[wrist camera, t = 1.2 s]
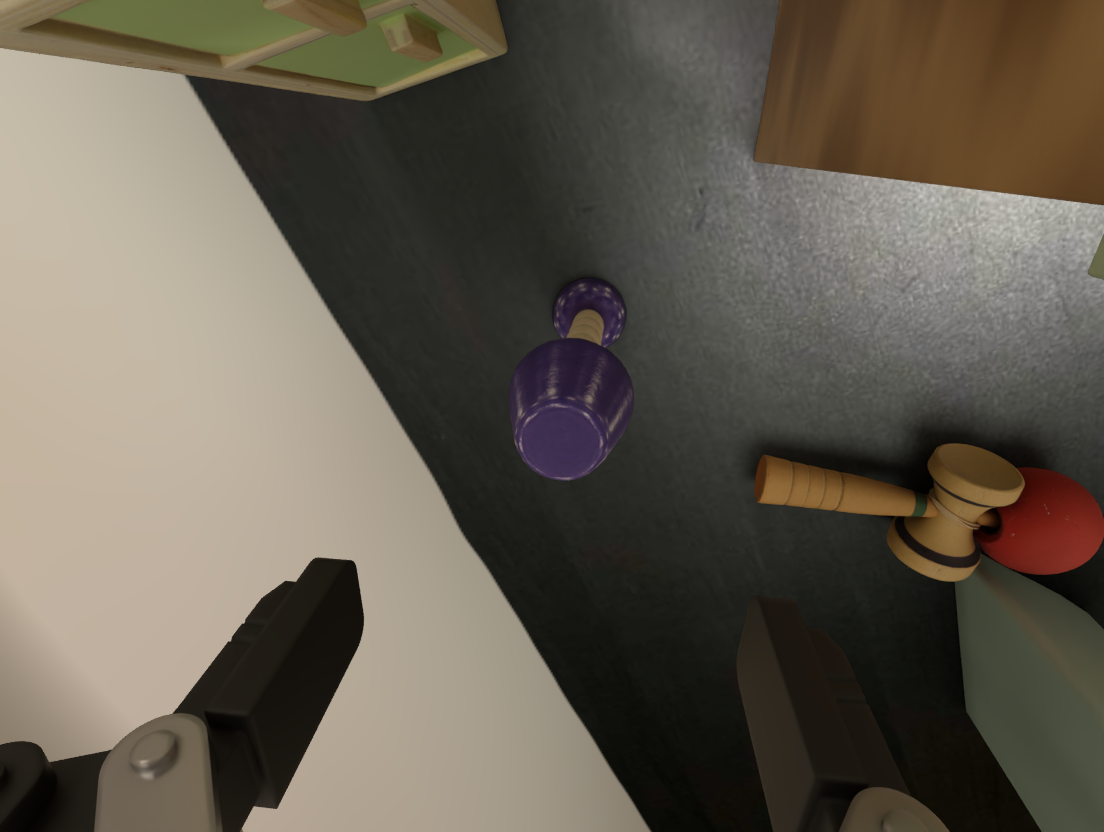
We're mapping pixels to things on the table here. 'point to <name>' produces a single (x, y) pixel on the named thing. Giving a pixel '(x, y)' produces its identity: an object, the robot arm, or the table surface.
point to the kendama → (957, 511)
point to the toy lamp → (573, 386)
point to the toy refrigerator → (267, 39)
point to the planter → (1036, 692)
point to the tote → (1098, 262)
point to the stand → (941, 93)
